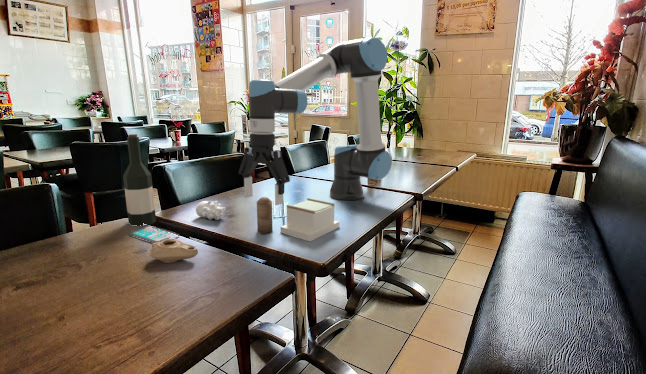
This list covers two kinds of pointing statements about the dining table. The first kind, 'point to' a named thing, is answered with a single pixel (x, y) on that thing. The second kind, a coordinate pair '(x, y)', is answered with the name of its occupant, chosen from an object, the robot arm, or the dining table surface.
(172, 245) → the pottery oil lamp
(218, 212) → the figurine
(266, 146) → the robot arm
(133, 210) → the wine bottle
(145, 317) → the dining table surface
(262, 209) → the brown domed cylinder
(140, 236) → the smartphone
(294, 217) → the display stand
